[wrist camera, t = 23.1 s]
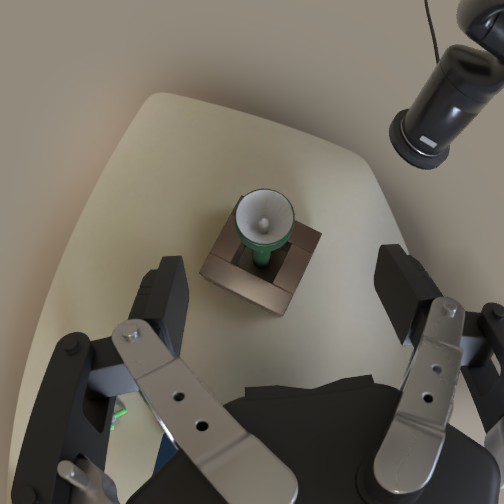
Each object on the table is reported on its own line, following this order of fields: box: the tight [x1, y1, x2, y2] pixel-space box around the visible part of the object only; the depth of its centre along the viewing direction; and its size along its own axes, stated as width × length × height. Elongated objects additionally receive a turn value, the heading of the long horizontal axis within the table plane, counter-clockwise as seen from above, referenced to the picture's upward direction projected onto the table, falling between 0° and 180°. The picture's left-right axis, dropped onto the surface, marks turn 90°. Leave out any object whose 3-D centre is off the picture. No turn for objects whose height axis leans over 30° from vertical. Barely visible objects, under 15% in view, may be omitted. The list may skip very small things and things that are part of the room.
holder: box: [199, 195, 322, 317], centre depth 44 cm, size 12×12×5 cm
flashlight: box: [234, 189, 295, 269], centre depth 36 cm, size 5×5×20 cm
